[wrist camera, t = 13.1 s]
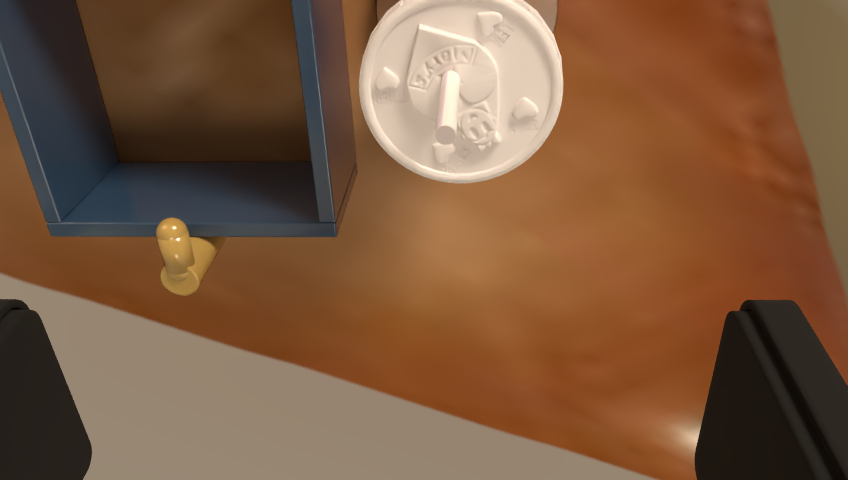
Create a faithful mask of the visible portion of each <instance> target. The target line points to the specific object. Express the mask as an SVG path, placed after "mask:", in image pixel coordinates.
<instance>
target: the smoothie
mask: <svg viewBox="0 0 848 480" xmlns="http://www.w3.org/2000/svg"><path fill="white" fill-rule="evenodd" d="M359 95H360V102H361V107H362V111H363V114H364V117H365V120H366V122H367V124H368V127H369V129H370V131H371V132H372V134H373V136H374V137H375V139H376V140H377V142H378V143H379V144H380V146H381V147H382V148H383V149H384V150H385V151H386V152H387V153H388V154H389V155H390V156H391V157H392V158H393V159H394V160H396V161H397V162H398V163H399V164H401V165H402V166H404V167H405V168H407V169H409V170H411V171H413V172H414V173H416V174H419V175H421V176H424V177H426V178H430V179H433V180H437V181H442V182H449V183H473V182H480V181H485V180H489V179H492V178H495V177H498V176H501V175H503V174H505V173H507V172H509V171H511V170H513V169H515V168H516V167H518V166H519V165H521V164H522V163H524V162H525V161H526V160H527V159H529V158H530V157H531V156H532V155H533V154H534V153H535V152H536V151H537V150H538V149H539V148H540V147H541V145H542V144H543V143H544V142H545V140H546V139H547V137H548V136H549V134H550V132H551V130H552V129H553V127H554V124H555V122H556V120H557V117H558V114H559V111H560V107H561V102H562V95H563V75H562V59H561V55H560V53H559V50H558V47H557V44H556V41H555V38H554V35H553V33H552V31H551V30H550V29H549V27H548V26H547V24H546V23H545V21H544V20H543V19H542V17H541V16H540V14H539V13H538V11H537V10H535V9H534V8H533V7H532V6H530V5H529V4H528V3H527V2H525V1H524V0H400V1H399V2H398V3H396V4H395V5H394V6H393V7H391V8H390V9H389V10H388V11H387V12H386V13H385V14H384V16H383V17H382V19H381V20H380V21H379V23H378V24H377V26H376V27H375V29H374V30H373V31H372V33H371V35H370V38H369V41H368V44H367V46H366V49H365V52H364V55H363V58H362V65H361V70H360V76H359Z"/></svg>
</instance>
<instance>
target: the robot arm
mask: <svg viewBox="0 0 848 480" xmlns="http://www.w3.org/2000/svg"><path fill="white" fill-rule="evenodd" d="M91 456H92V448H91V443H90V440H89V438H88V435H87V433H86V431H85V428H84V426H83V423H82V420H81V418H80V415H79V413H78V411H77V408H76V406H75V403H74V400H73V398H72V395H71V393H70V390H69V388H68V385H67V383H66V380H65V378H64V375H63V373H62V370H61V368H60V365H59V363H58V360H57V358H56V356H55V353H54V351H53V348H52V345H51V343H50V340H49V338H48V335H47V333H46V330H45V328H44V325H43V323H42V320H41V318H40V316H39V315H38V314H37V313H36V312H35V311H33V310H29V308H28V306H27V305H26V304H25V303H24V302H23V301H21V300H16V299H14V300H13V299H10V300H9V299H0V480H83V478H84V476H85V474H86V473H87V471H88V468H89V466H90V462H91ZM695 470H696V476H697V480H848V386H847V385H846V383H845V381H844V380H843V378H842V376H841V375H840V373H839V372H838V370H837V368H836V367H835V365H834V363H833V362H832V360H831V358H830V357H829V355H828V354H827V352H826V350H825V349H824V347H823V345H822V344H821V342H820V341H819V339H818V337H817V336H816V334H815V332H814V331H813V329H812V327H811V326H810V324H809V323H808V321H807V319H806V318H805V316H804V314H803V313H802V311H801V309H800V308H799V306H798V305H797V304H796V303H795V302H794V301H791V300H747V301H744V303H743V304H742V305H741V308H740V311H731V312H729V313H728V314H727V316H726V319H725V323H724V328H723V332H722V337H721V341H720V346H719V350H718V354H717V359H716V363H715V368H714V372H713V376H712V381H711V385H710V390H709V394H708V398H707V403H706V407H705V412H704V416H703V420H702V425H701V429H700V434H699V438H698V443H697V447H696V452H695Z"/></svg>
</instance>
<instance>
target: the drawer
mask: <svg viewBox="0 0 848 480" xmlns="http://www.w3.org/2000/svg"><path fill="white" fill-rule="evenodd" d="M291 4H292V12H293V20H294V28H295V36H296V44H297V52H298V59H299V67H300V75H301V83H302V91H303V99H304V106H305V114H306V122H307V130H308V138H309V146H310V154H311V161H292V162H119V158H118V154H117V151H116V147H115V144H114V140H113V136H112V133H111V129H110V125H109V122H108V118H107V115H106V111H105V107H104V104H103V100H102V96H101V93H100V89H99V85H98V82H97V78H96V75H95V71H94V67H93V64H92V60H91V56H90V53H89V49H88V46H87V42H86V38H85V35H84V31H83V27H82V24H81V20H80V17H79V13H78V9H77V6H76V2H75V0H0V91H1V94H2V97H3V100H4V103H5V106H6V109H7V112H8V114H9V117H10V120H11V123H12V126H13V129H14V132H15V134H16V137H17V140H18V143H19V146H20V149H21V152H22V155H23V157H24V160H25V163H26V166H27V169H28V172H29V175H30V178H31V180H32V183H33V186H34V189H35V192H36V195H37V198H38V200H39V203H40V206H41V209H42V212H43V215H44V218H45V221H46V222H47V226H48V229H49V232H50V235H51V236H80V237H157V240H158V244H159V248H160V252H161V255H162V259H163V263H164V267H163V268H162V270H161V273H160V278H161V282H162V284H163V285H164V287H165V288H166V289H167V290H169V291H170V292H172V293H174V294H177V295H190V294H192V293H194V292H195V291H196V290H197V289H198V287H199V286H200V284H201V282H202V280H203V279H204V277H205V275H206V273H207V271H208V270H209V268H210V266H211V264H212V263H213V261H214V259H215V257H216V256H217V254H218V252H219V250H220V248H221V247H222V245H223V243H224V241H225V240H226V238H227V237H337V235H338V232H339V229H340V226H341V223H342V219H343V216H344V213H345V210H346V207H347V204H348V201H349V198H350V194H351V191H352V188H353V185H354V182H355V179H356V176H357V163H356V152H355V141H354V130H353V119H352V109H351V98H350V87H349V76H348V65H347V55H346V44H345V33H344V22H343V11H342V1H341V0H291Z"/></svg>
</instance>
